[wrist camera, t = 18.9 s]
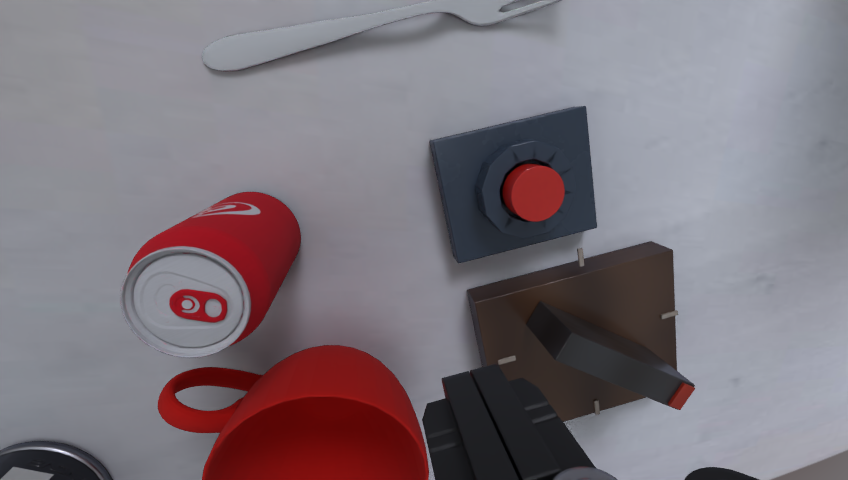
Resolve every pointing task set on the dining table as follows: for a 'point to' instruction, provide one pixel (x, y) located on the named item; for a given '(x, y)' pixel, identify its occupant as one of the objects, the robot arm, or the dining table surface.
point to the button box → (488, 169)
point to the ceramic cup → (306, 420)
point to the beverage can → (210, 275)
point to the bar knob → (608, 356)
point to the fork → (344, 31)
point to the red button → (533, 192)
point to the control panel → (586, 299)
